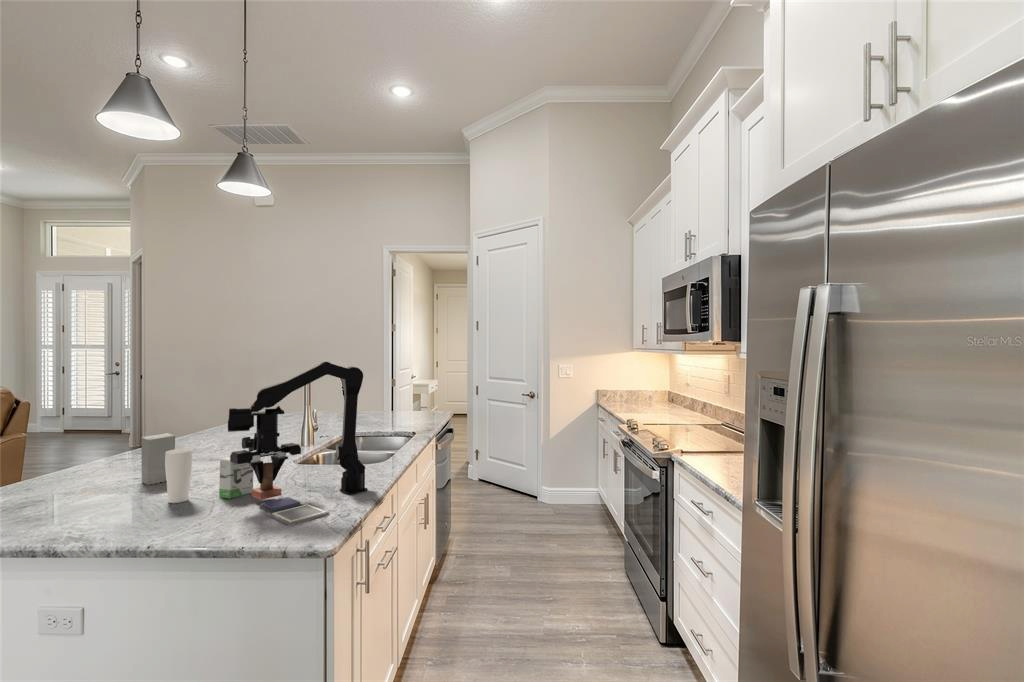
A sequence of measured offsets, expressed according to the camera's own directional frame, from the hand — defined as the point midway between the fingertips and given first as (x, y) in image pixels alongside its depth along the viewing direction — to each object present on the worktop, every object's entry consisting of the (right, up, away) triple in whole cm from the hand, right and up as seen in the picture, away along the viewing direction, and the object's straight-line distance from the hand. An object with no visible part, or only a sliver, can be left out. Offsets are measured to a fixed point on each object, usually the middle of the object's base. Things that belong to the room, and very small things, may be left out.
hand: (266, 481), depth 151 cm
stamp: (0, -4, 0) cm, 4 cm away
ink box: (-13, -6, +7) cm, 16 cm away
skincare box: (-47, -6, +21) cm, 52 cm away
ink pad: (+7, -6, -6) cm, 11 cm away
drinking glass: (-26, -6, 0) cm, 27 cm away
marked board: (+15, -6, -13) cm, 20 cm away
